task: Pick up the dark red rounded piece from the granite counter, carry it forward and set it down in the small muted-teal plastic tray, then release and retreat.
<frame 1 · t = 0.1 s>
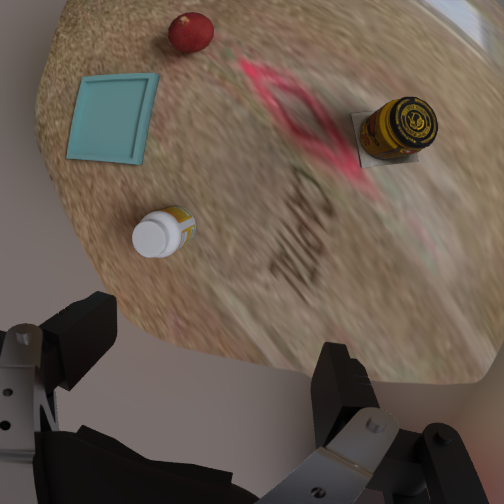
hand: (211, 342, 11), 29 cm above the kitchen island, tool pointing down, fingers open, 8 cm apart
dark red rounded piece: (198, 44, 34), on the kitchen island
supplement bottle: (177, 225, 40), on the kitchen island
condiment: (385, 137, 35), on the kitchen island
tray: (111, 117, 37), on the kitchen island
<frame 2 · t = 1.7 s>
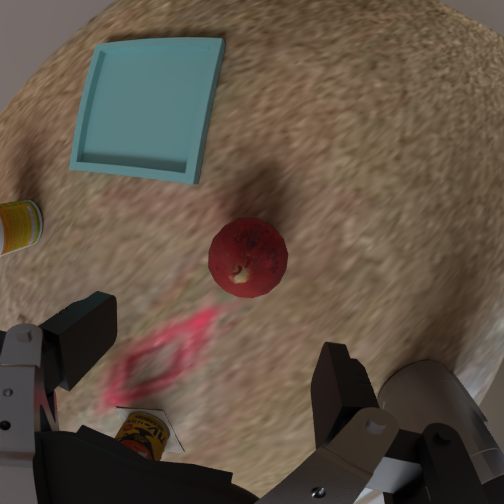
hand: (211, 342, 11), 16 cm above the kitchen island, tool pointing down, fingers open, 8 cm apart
dark red rounded piece: (253, 246, 26), on the kitchen island
supplement bottle: (30, 221, 28), on the kitchen island
condiment: (150, 430, 33), on the kitchen island
tray: (143, 106, 24), on the kitchen island
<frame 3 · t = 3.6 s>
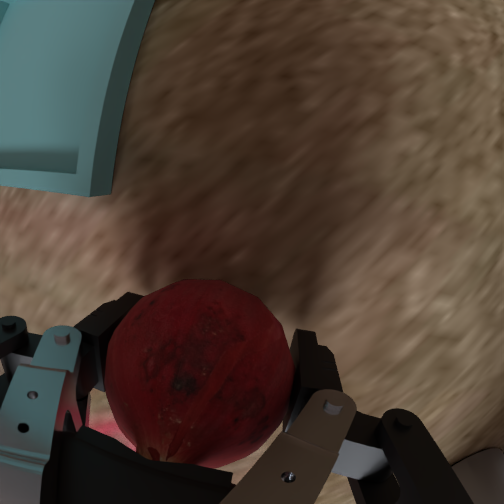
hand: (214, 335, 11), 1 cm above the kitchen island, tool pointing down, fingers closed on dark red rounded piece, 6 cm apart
dark red rounded piece: (222, 319, 13), on the kitchen island, touching gripper
tray: (39, 64, 10), on the kitchen island
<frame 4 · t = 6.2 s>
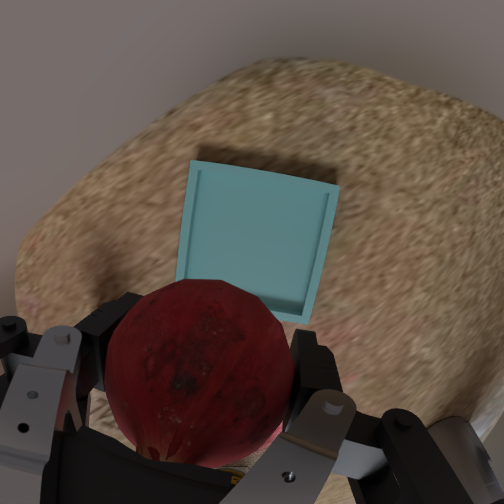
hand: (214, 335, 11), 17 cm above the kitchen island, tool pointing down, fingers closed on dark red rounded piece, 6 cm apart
dark red rounded piece: (222, 319, 13), point 16 cm above the kitchen island, touching gripper
condiment: (230, 479, 37), on the kitchen island
tray: (253, 241, 28), on the kitchen island
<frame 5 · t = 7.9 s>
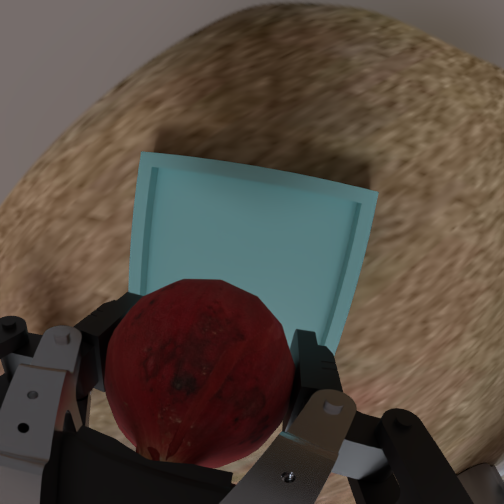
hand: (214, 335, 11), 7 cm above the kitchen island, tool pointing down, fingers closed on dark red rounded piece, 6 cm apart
dark red rounded piece: (222, 319, 13), point 6 cm above the kitchen island, touching gripper
tray: (240, 276, 18), on the kitchen island
when the fingers open (4 cm above the kitchen island, at t = 9.2 s): dark red rounded piece drops 2 cm, resting on tray.
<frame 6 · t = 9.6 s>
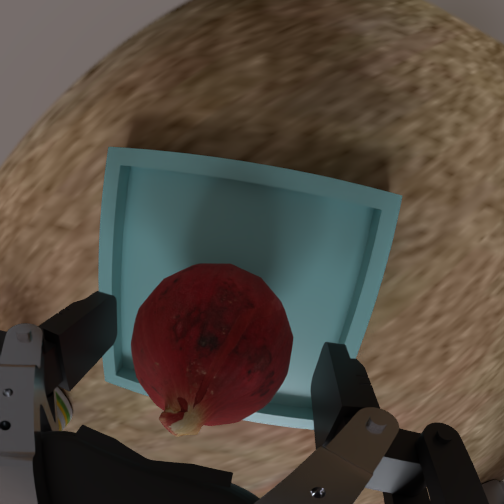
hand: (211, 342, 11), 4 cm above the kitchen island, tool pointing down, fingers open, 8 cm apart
dark red rounded piece: (226, 302, 14), resting on tray
supplement bottle: (50, 394, 19), on the kitchen island
tray: (230, 298, 15), on the kitchen island
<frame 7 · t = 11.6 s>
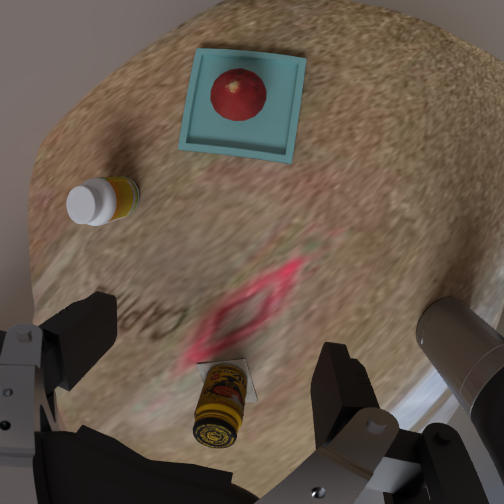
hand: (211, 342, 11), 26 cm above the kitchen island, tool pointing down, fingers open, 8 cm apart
dark red rounded piece: (242, 103, 32), resting on tray
supplement bottle: (123, 196, 36), on the kitchen island
condiment: (228, 382, 42), on the kitchen island
tray: (243, 103, 32), on the kitchen island
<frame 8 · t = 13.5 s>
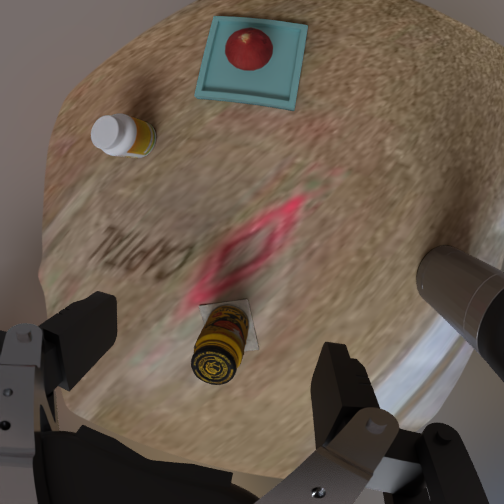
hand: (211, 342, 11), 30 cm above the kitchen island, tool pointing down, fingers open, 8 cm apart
dark red rounded piece: (252, 60, 34), resting on tray
supplement bottle: (140, 139, 39), on the kitchen island
condiment: (229, 327, 44), on the kitchen island
tray: (253, 61, 35), on the kitchen island
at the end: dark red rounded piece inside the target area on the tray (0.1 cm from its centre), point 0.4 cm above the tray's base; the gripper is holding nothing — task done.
